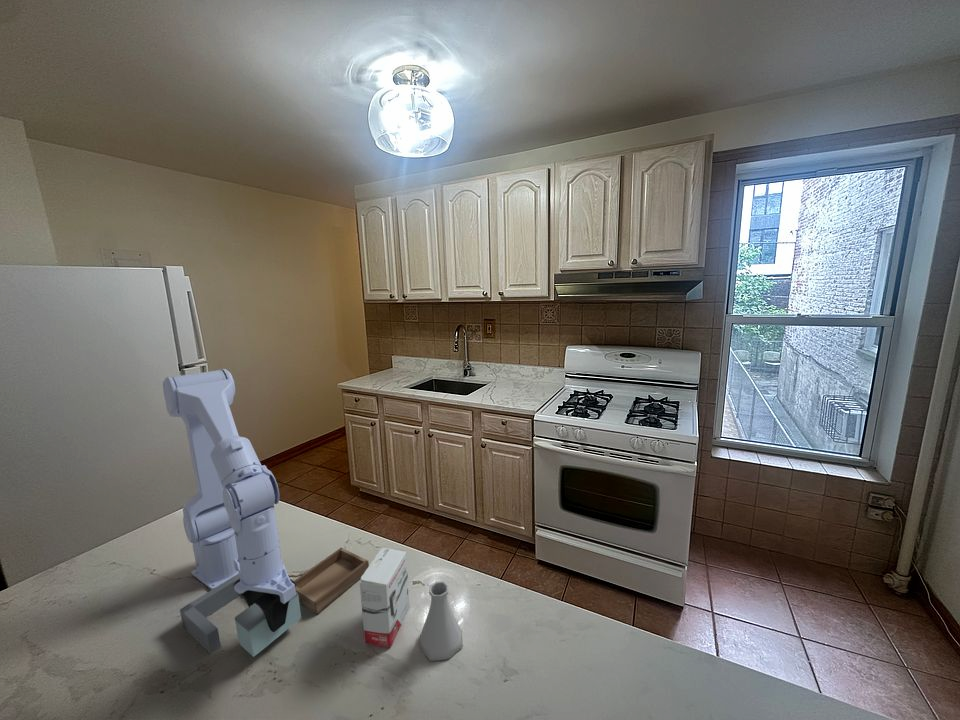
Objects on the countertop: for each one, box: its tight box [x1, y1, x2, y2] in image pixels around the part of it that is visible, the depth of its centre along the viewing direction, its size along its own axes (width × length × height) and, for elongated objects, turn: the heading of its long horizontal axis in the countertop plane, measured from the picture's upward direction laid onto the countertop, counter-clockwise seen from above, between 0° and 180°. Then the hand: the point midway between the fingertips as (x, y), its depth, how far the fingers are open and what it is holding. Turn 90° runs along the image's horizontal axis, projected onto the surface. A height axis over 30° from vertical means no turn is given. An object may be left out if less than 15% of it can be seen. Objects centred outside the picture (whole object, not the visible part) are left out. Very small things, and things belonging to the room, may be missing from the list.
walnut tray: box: [293, 547, 370, 616], centre depth 74 cm, size 9×12×2 cm
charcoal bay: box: [179, 574, 242, 654], centre depth 67 cm, size 10×13×4 cm
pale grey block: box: [234, 592, 302, 658], centre depth 61 cm, size 4×8×5 cm, turn 149°
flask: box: [419, 580, 463, 662], centre depth 60 cm, size 7×7×10 cm
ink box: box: [359, 547, 411, 648], centre depth 63 cm, size 9×5×12 cm, turn 168°
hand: (269, 620), depth 61 cm, fingers closed on pale grey block, 4 cm apart
